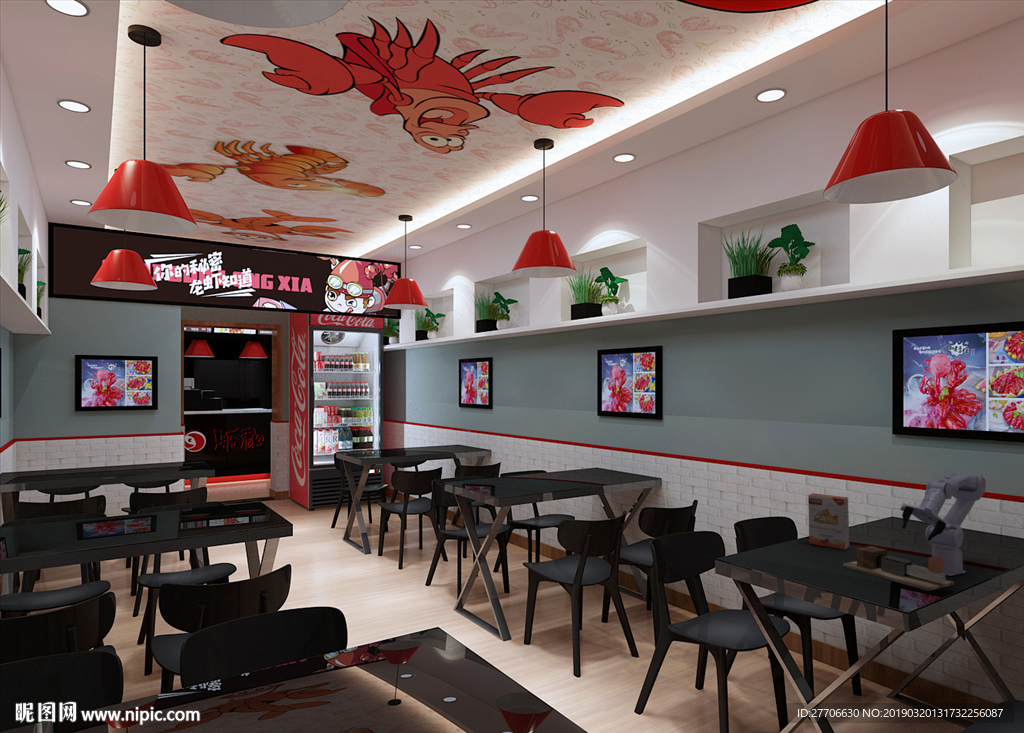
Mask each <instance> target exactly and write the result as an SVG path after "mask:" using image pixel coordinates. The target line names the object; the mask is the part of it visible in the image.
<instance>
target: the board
mask: <svg viewBox="0 0 1024 733" xmlns="http://www.w3.org/2000/svg"><path fill="white" fill-rule="evenodd" d="M842 567H843V568H847V569H850V570H854V571H858V572H861V573H864V574H867V575H871V576H875V577H878V578H882V579H885V580H888V581H891V582H896V583H899V584H902V585H906V586H909V587H913V588H917V589H920V590H924V591H927V592H930V591H933V590H939V589H942V588H945V587H949V586H954V585H955V581H953V580H948V579H946V578H945V581H946V582H942V583H938V582H934V581H931V580H927V579H923V578H919V577H916V576H912V575H910V576H906V577H903V576H899V575H896V574H892V573H889V572H885V571H881V568H878V569H869V568H865V567H862V566H858V565H857V560H855V561H850V562H845V563H842Z"/></svg>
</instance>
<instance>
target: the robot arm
mask: <svg viewBox="0 0 1024 733" xmlns="http://www.w3.org/2000/svg"><path fill="white" fill-rule="evenodd" d="M986 486H987V481H986V478H985V477H984V476H983V475H972V474H963V473H956V472H954V473H952V474H951V476H944V478H942V479H939V480H937V481H935V480H934V481H933V480H932V481H930V482H927V483H926V490H925V492H924V497H923V499H922V501H921V503H920V504H919V506H915V505H911V504H908V503H905V502H903V504H902V505H901V507H900V509H899V510H900V511H902V513H901V516H902V527H901V529H903V530H905V529H906V527H907V525H908V522H909V521H910V519H911V516H913V517H915V518H916V519H918V520H919V521H921V522H923V523H926V524H929V525H928V526H926V528H925V530H924V531H925V533H924V536H925V539H926V541H927V543H928V544H929V546H930V547H931V557H933V556H937V557H941V558H943V572H945V576H948V577H951V576H957V575H960V574H965V573H966V570H964V568H963V567H964V566H963V563H964V562H963V552H962V550H961V549H960V547H961V546H962V545H963V540H964V538H965V534H964V531H963V528H962V527H961V525H962V524H963V522H964V520H965V519H966V518H967V516H968V515H969V513H970V511H971V510H972V508H973V507H974V504H975V503H976V501H979V500H981V498H982V497H983V495H984V494H985V493H986ZM952 497H953V498H954V499H956V500H955V501H954V503H953V504H952V506H951V507H950V509H949V510H948V512H947V513H946V515H945V516H944V517H943V518H942V517H940V516H939V513H940V511H941V509H942V507H943V505H944V504H945V502H946V501H947V500H951V499H952Z"/></svg>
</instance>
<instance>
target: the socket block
mask: <svg viewBox="0 0 1024 733" xmlns="http://www.w3.org/2000/svg"><path fill="white" fill-rule="evenodd" d="M883 556H888V551H887V549H885V548H882V547H881V548H880V547H878V546H877V547H876V546H874V545H873V546H872V545H868V546H864V547H858V548H856V561H857V565H858V566H862V567H865V568H869V569H878V568H881V557H883Z"/></svg>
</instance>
